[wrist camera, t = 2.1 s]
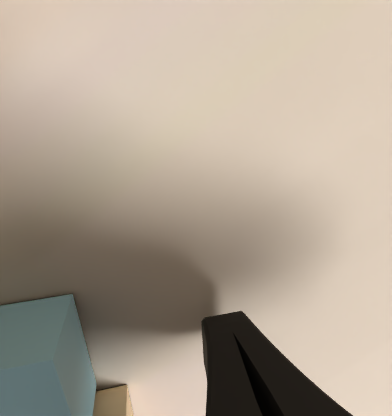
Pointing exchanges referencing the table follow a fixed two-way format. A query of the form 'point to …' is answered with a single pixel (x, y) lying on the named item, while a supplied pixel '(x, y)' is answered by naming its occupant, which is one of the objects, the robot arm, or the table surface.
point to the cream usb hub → (113, 402)
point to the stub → (44, 360)
